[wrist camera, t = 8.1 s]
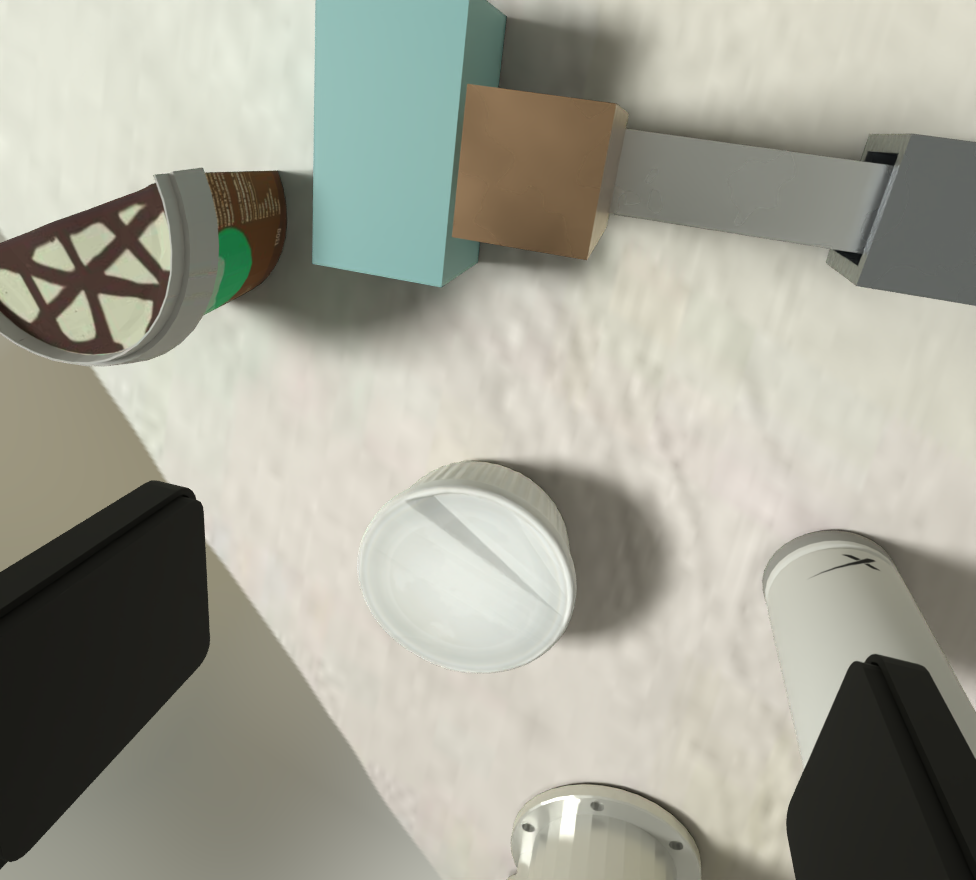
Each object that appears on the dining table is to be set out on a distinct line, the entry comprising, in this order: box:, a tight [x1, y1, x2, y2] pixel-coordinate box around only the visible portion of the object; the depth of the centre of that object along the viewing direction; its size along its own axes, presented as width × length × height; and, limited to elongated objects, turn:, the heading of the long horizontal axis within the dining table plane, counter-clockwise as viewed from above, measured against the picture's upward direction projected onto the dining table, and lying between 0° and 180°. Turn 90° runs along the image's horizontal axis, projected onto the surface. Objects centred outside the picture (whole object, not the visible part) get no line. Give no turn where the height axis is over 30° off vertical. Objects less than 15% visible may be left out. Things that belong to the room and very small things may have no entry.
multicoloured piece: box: [452, 84, 894, 260], centre depth 23 cm, size 19×4×11 cm, turn 82°
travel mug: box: [762, 530, 976, 769], centre depth 26 cm, size 6×7×20 cm
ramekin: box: [357, 461, 577, 673], centre depth 36 cm, size 11×11×5 cm
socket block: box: [312, 0, 507, 287], centre depth 28 cm, size 6×10×6 cm, turn 172°
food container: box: [0, 168, 287, 366], centre depth 30 cm, size 12×6×10 cm, turn 107°
